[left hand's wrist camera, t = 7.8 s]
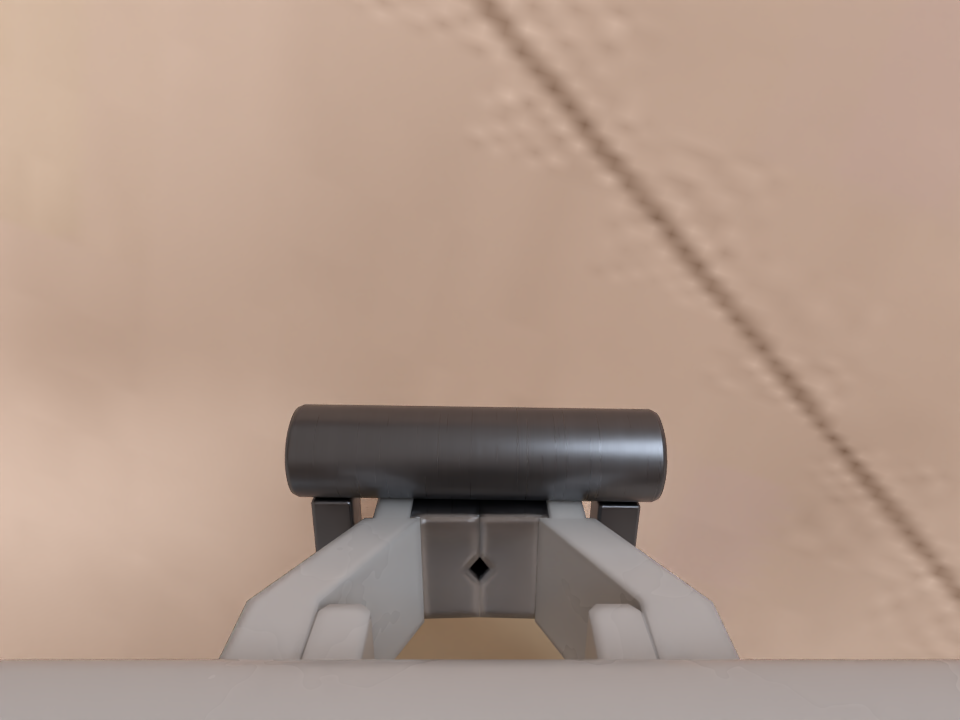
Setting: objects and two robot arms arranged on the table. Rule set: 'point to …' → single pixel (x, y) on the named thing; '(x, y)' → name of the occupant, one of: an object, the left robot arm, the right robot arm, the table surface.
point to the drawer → (475, 482)
